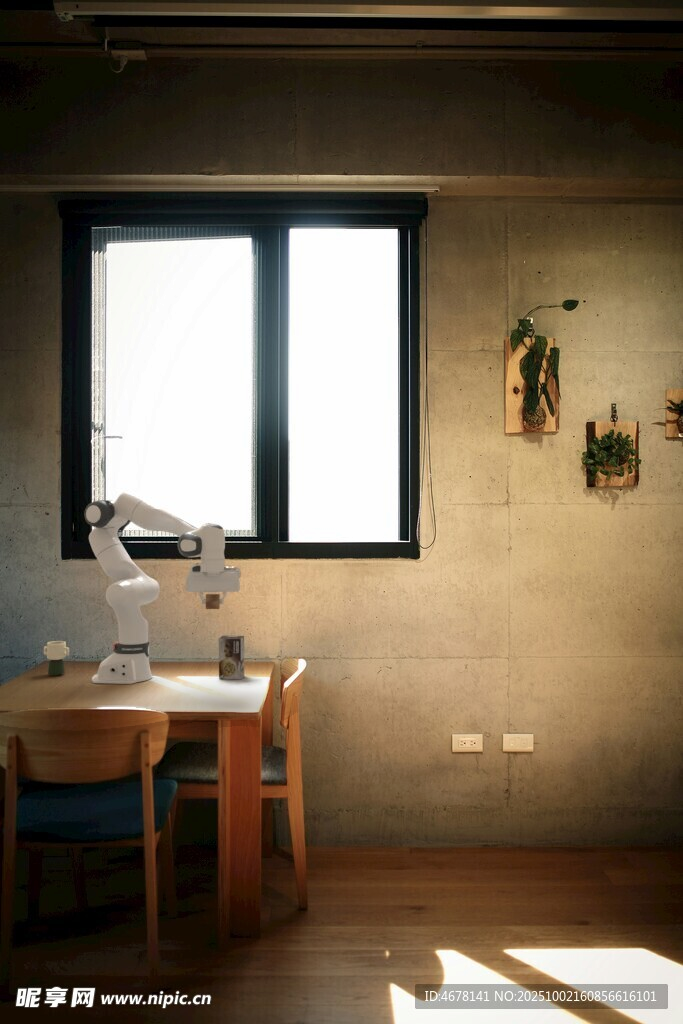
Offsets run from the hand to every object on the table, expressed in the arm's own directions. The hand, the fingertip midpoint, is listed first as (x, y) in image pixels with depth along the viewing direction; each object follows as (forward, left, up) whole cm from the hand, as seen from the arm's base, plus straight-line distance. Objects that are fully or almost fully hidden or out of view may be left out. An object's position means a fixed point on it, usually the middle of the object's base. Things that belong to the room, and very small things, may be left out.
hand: (212, 603), depth 284 cm
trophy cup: (-62, +24, -31) cm, 73 cm away
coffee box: (+7, +13, -31) cm, 34 cm away
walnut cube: (0, 0, -2) cm, 2 cm away
